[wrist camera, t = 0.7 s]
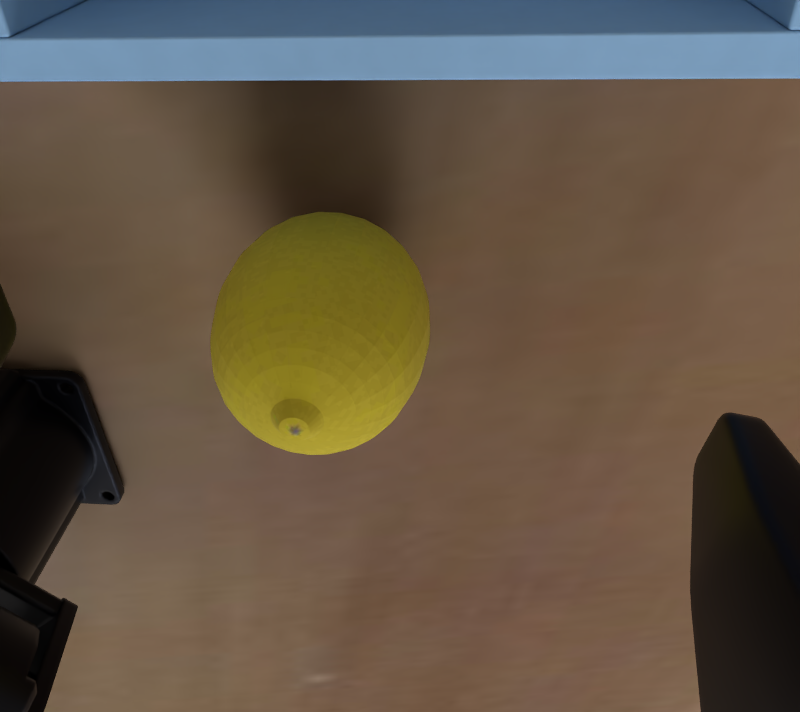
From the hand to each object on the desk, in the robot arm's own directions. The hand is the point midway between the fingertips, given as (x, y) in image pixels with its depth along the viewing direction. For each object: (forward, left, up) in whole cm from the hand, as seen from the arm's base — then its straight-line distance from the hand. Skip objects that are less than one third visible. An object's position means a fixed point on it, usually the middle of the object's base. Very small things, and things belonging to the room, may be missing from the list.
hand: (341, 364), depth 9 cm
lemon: (-5, +2, -13) cm, 14 cm away
